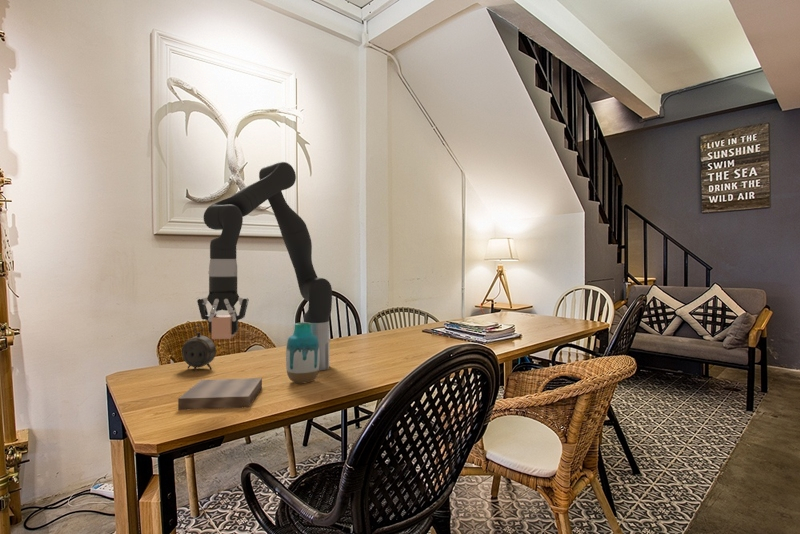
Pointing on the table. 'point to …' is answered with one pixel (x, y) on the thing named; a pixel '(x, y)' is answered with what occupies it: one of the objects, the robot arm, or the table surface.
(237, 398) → the walnut base
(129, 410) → the table surface
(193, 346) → the alarm clock
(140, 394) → the table surface
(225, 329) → the pink block
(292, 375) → the vase
